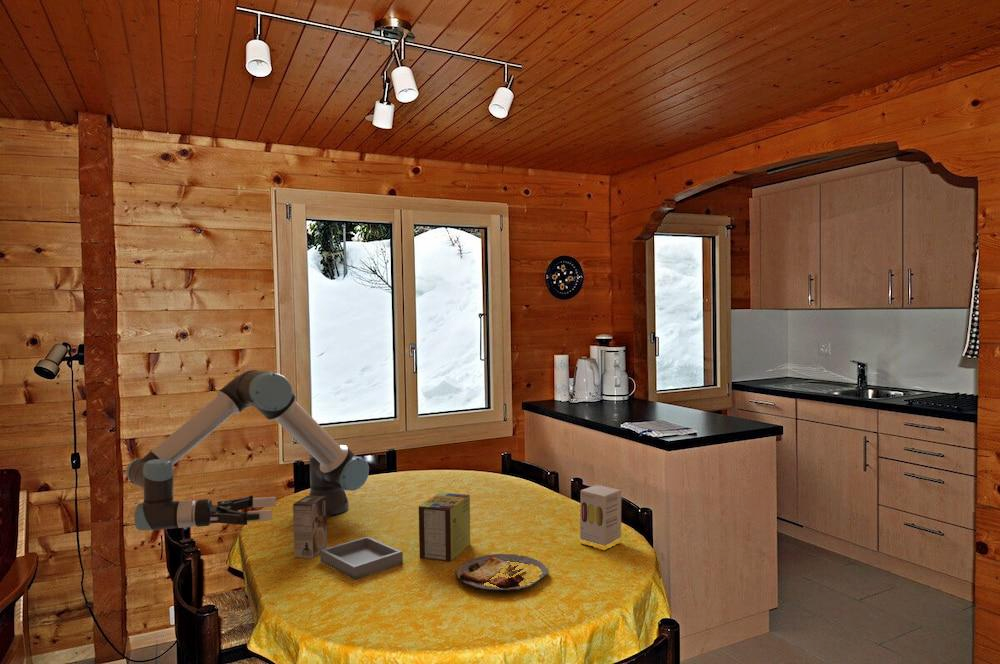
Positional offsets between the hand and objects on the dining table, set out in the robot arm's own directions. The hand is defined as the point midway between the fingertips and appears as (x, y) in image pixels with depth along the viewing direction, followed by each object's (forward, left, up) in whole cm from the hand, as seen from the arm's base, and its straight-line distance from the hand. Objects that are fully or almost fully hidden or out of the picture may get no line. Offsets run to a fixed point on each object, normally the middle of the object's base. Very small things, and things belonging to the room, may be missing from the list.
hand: (274, 507), depth 196 cm
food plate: (-36, +59, -15) cm, 71 cm away
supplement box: (-75, +63, -15) cm, 99 cm away
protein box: (-38, +33, -15) cm, 52 cm away
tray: (-15, +23, -14) cm, 31 cm away
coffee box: (-9, +5, -15) cm, 18 cm away
